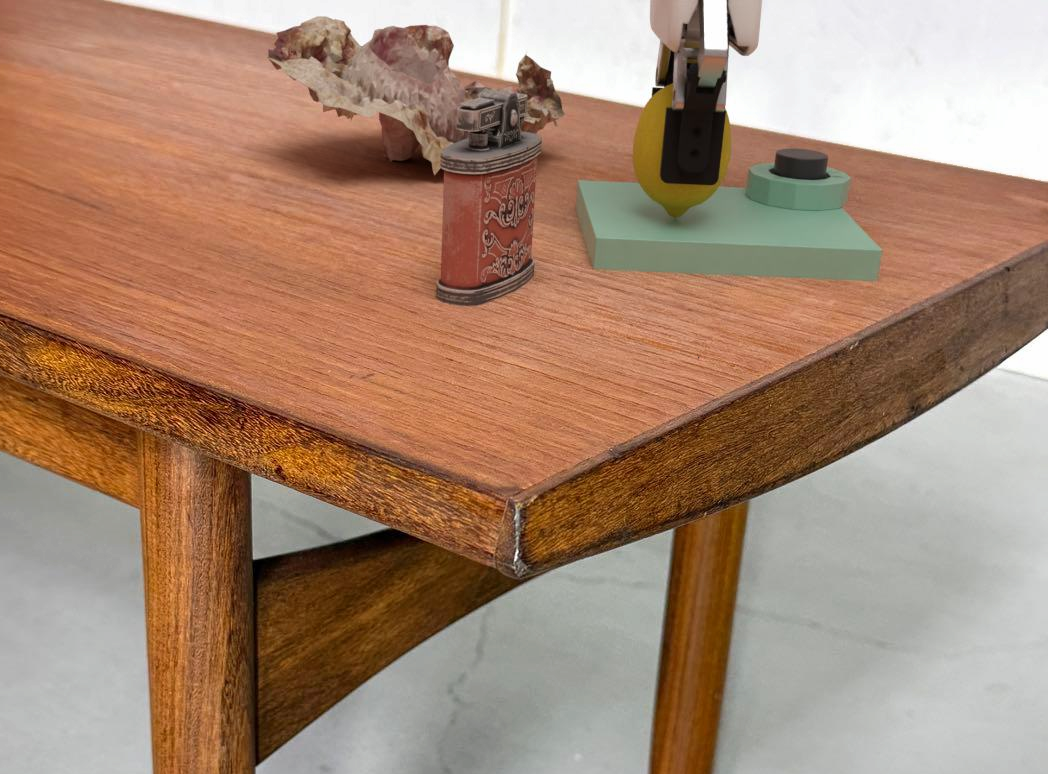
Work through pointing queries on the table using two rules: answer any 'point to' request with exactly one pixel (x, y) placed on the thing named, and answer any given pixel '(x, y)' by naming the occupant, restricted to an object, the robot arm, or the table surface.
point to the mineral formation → (400, 82)
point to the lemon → (650, 153)
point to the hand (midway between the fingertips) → (681, 167)
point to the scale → (731, 230)
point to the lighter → (488, 202)
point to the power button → (800, 164)
